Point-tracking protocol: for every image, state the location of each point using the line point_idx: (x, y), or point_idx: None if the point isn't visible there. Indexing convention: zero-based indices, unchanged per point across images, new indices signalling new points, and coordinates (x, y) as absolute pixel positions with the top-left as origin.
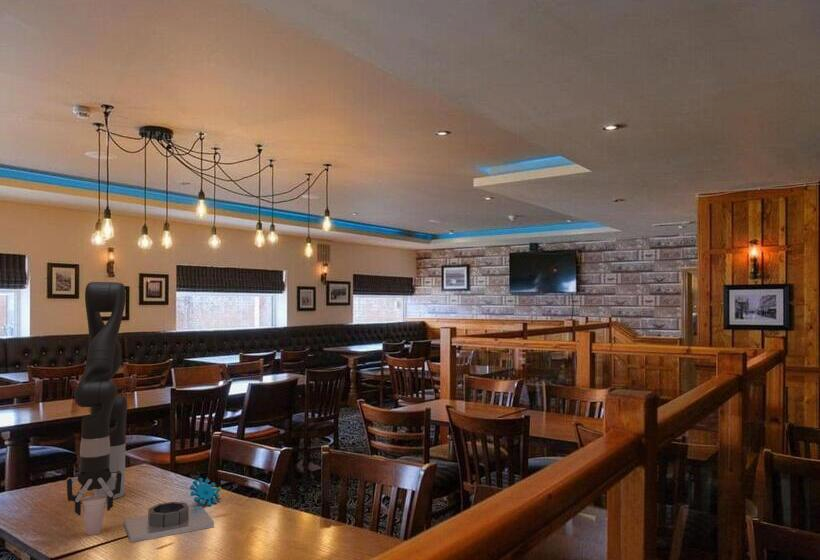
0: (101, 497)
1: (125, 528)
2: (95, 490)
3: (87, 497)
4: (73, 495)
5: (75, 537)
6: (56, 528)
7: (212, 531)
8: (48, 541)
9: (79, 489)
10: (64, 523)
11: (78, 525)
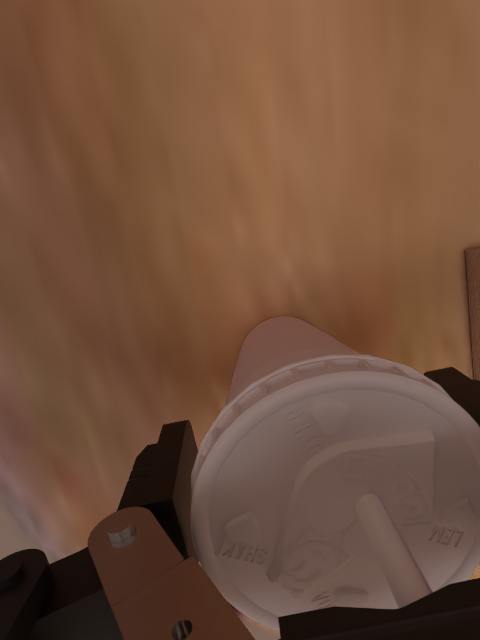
0: (437, 509)
1: (476, 363)
2: (404, 603)
3: (253, 452)
4: (66, 627)
5: (185, 403)
6: (9, 178)
7: None
8: (38, 419)
9: (122, 637)
10: (36, 70)
11: (157, 164)
